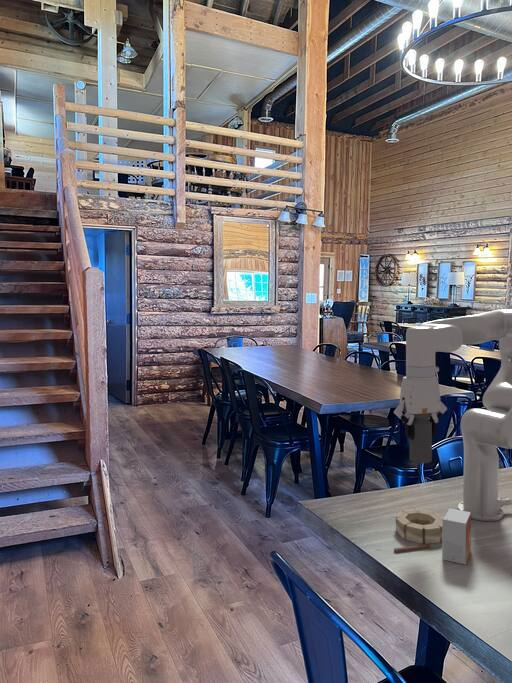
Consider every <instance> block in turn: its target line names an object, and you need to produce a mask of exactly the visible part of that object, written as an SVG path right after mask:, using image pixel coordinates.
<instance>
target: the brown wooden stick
mask: <svg viewBox="0 0 512 683" xmlns="http://www.w3.org/2000/svg"><path fill="white" fill-rule="evenodd" d="M431 546H432V545H431V543H430V544H425V543H423V544H418V545H417V544H416V545H410V546H405V547H403V546H401V547H395V548H393V552H394V553H397V554H398V553H403V552H411V551H417V550H419V551H420V550H423V549H431Z"/></svg>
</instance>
